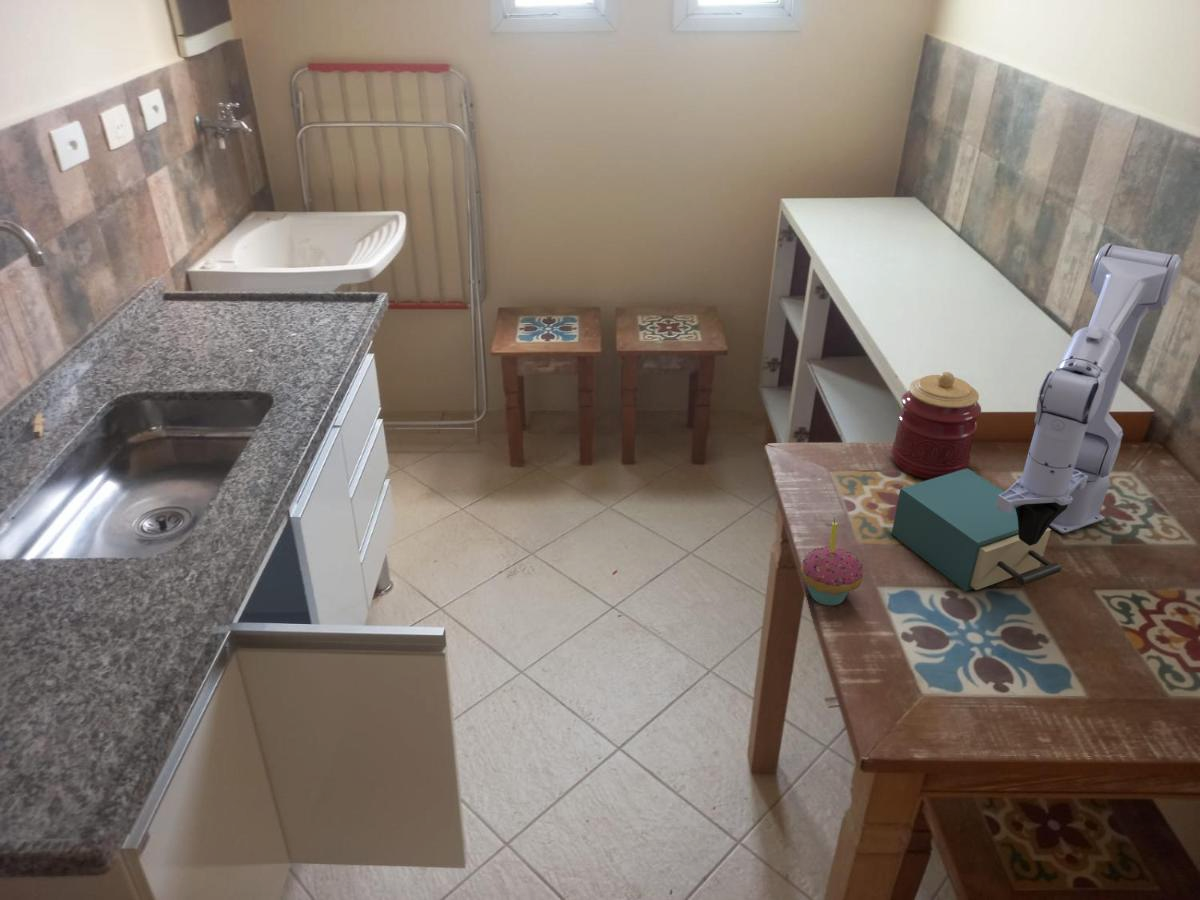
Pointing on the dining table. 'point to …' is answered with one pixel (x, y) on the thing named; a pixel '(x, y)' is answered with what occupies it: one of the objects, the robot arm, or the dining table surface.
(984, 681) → the dining table surface
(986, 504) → the cabinet
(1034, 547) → the drawer
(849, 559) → the cupcake
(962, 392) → the kitchen canister
